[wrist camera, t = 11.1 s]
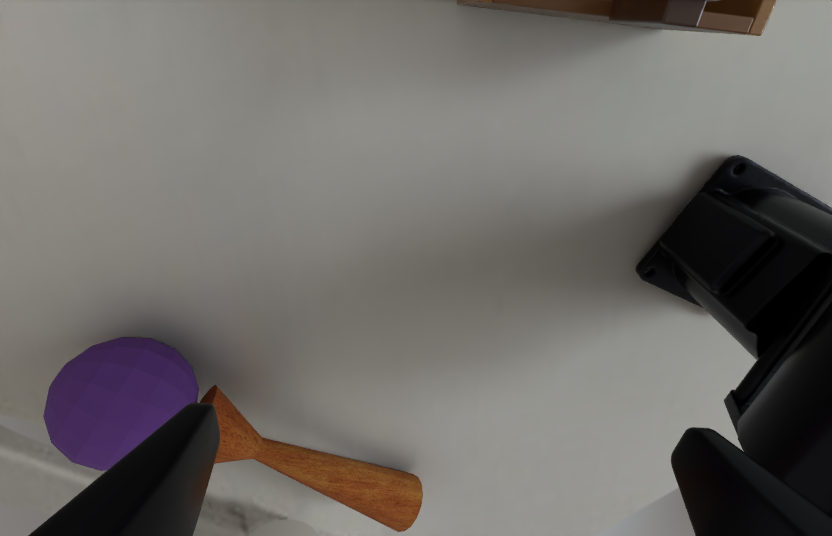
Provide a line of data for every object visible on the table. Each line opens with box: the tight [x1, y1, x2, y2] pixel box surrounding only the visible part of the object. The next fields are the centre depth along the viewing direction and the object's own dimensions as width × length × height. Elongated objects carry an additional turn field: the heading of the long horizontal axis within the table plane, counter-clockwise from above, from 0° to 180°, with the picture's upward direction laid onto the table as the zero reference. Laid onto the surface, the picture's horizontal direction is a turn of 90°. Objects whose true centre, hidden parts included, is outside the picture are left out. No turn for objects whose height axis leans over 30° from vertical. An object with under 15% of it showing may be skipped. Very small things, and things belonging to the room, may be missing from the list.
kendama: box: [43, 337, 423, 532], centre depth 24 cm, size 6×6×20 cm
